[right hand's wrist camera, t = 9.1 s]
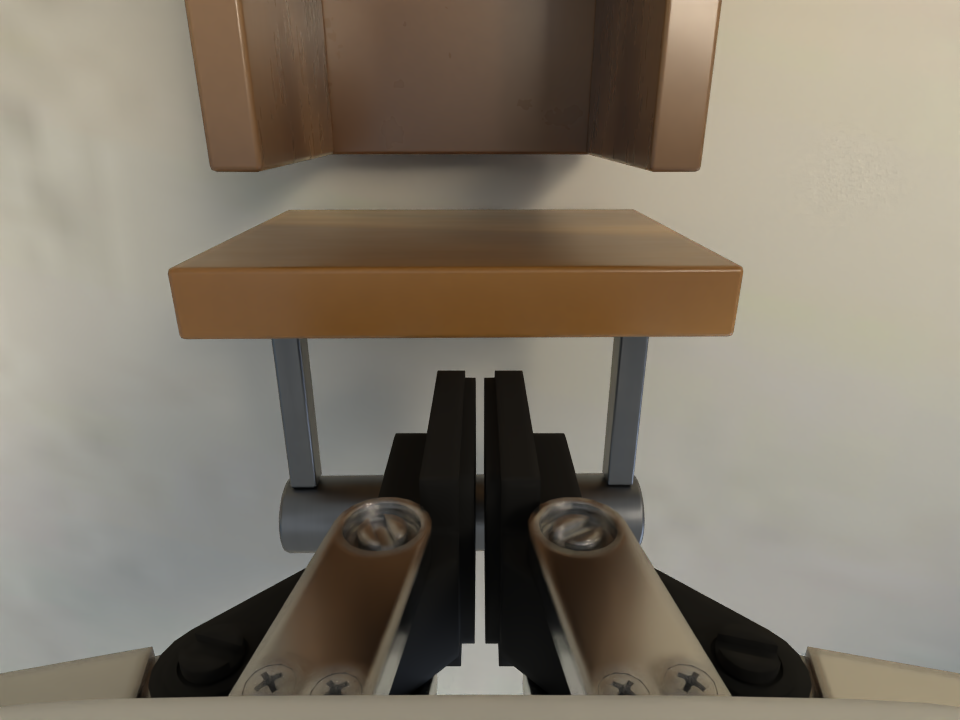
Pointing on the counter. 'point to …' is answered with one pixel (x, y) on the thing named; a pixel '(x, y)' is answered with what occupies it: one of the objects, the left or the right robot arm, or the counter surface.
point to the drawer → (453, 233)
